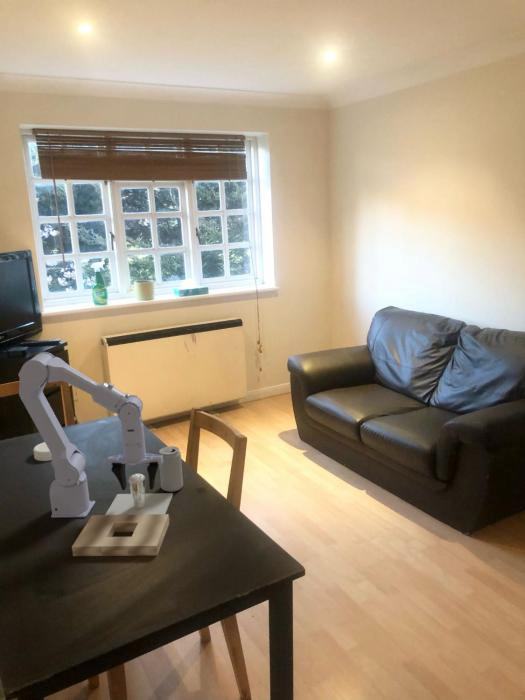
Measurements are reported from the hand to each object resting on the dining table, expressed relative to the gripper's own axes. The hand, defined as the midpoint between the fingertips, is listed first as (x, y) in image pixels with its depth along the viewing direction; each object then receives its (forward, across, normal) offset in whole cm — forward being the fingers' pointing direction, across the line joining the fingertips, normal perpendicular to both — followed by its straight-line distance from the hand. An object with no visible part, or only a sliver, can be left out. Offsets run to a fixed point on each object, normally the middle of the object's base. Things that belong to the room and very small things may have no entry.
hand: (138, 488), depth 149 cm
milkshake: (+5, 0, -1) cm, 5 cm away
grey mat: (+5, 0, 0) cm, 5 cm away
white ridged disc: (+6, -40, +35) cm, 53 cm away
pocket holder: (+5, 0, -16) cm, 17 cm away
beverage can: (+6, +7, +10) cm, 13 cm away
